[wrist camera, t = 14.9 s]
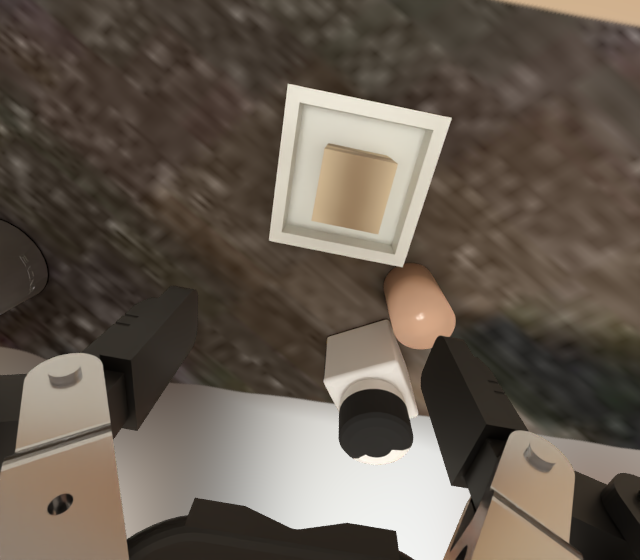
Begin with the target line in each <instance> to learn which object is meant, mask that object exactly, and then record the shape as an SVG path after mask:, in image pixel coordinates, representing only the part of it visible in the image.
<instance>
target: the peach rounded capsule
mask: <svg viewBox="0 0 640 560" xmlns="http://www.w3.org/2000/svg"><path fill="white" fill-rule="evenodd" d="M383 289H384V294H385V298H386V302H387V307H388V311H389V315H390V319H391V324H392V328H393V332H394V335H395V336H396V338H397V339H398V340H399V341H400V342H401V343H402V344H403V345H405V346H407V347H410V348H414V349H429V348H432V347H433V344H434V342H435V340H436V338H437V337H438V336H446V337H450V335H451V334H452V332H453V330H454V328H455V321H456V320H455V315H454V312H453V310H452V309H451V307H450V305H449V303H448V302H447V300H446V298H445V296H444V295H443V293H442V291H441V289H440V288H439V286H438V284H437V282H436V281H435V279H434V277H433V275H432V274H431V272H430V271H429V270H428V269H427V268H426V267H424V266H422V265H420V264H417V263H405V264H404V265H403V267H399V266H397V267H395V268H393V269H392V270H391V271H390V272H389V273H388V275H387V276H386V278H385V280H384V285H383Z"/></svg>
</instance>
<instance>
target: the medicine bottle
mask: <svg viewBox="0 0 640 560" xmlns="http://www.w3.org/2000/svg"><path fill="white" fill-rule="evenodd" d="M323 381H324V384H325V386H326V388H327V390H328V392H329V394H330V396H331V398H332V400H333V402H334V403H335V405H336V407H337V409H338V411H339V442H340V445H341V447H342V448H343V450H344V451H345V452H346V453H347V454H348V455H349V456H350V457H352V458H353V459H355V460H357V461H359V462H362V463H365V464H372V465H381V464H387V463H392V462H394V461H397V460H398V459H400V458H401V457H403V456H404V455H405V454H406V453H407V452H408V450H409V449H410V447H411V446H412V443H413V433H412V428H411V423H410V418H414V417H417V416H418V410H417V406H416V402H415V398H414V394H413V390H412V386H411V382H410V378H409V374H408V370H407V367H406V364H405V361H404V359H403V356H402V353H401V351H400V348H399V345H398V343H397V340H396V338H395V335H394V332H393V330H392V327H391V324H390V322H389V321H388V320H383V321H379V322H376V323H373V324H369V325H366V326H363V327H359V328H356V329H353V330H349V331H346V332H343V333H339V334H336V335H333V336H329V337H328V338H327V343H326V355H325V368H324V380H323Z"/></svg>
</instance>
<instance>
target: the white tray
mask: <svg viewBox="0 0 640 560" xmlns="http://www.w3.org/2000/svg"><path fill="white" fill-rule="evenodd" d="M451 119H452V118H449V117H445V116H440V115H435V114H430V113H425V112H421V111H416V110H411V109H406V108H402V107H397V106H392V105H387V104H382V103H378V102H373V101H368V100H363V99H358V98H354V97H349V96H344V95H339V94H335V93H330V92H325V91H320V90H315V89H311V88H306V87H301V86H296V85H292V84H288V87H287V96H286V104H285V112H284V120H283V129H282V137H281V145H280V153H279V161H278V170H277V178H276V186H275V194H274V202H273V211H272V219H271V227H270V235H269V241H273V242H278V243H283V244H288V245H293V246H298V247H303V248H308V249H313V250H318V251H323V252H328V253H333V254H338V255H343V256H348V257H353V258H358V259H363V260H368V261H374V262H379V263H384V264H389V265H394V266H399V267H403V265H404V262H405V259H406V256H407V253H408V250H409V247H410V244H411V241H412V237H413V234H414V231H415V228H416V225H417V222H418V219H419V216H420V213H421V210H422V207H423V204H424V201H425V198H426V195H427V192H428V189H429V186H430V183H431V180H432V176H433V173H434V170H435V167H436V164H437V161H438V158H439V155H440V152H441V149H442V146H443V143H444V140H445V137H446V134H447V131H448V128H449V125H450V122H451ZM328 143H330V144H335V145H340V146H344V147H349V148H354V149H359V150H363V151H368V152H373V153H378V154H382V155H387V156H389V157H390V158H391V159H392V160H394V161H395V162H396V163H397V164H398V166H397V169H396V173H395V177H394V180H393V184H392V187H391V191H390V194H389V198H388V201H387V205H386V208H385V212H384V215H383V219H382V223H381V226H380V230H379V233H378V234H373V233H368V232H364V231H359V230H354V229H349V228H344V227H339V226H334V225H329V224H325V223H320V222H315V221H311V220H312V214H313V209H314V203H315V198H316V192H317V187H318V181H319V176H320V170H321V165H322V159H323V154H324V148H325V147H326V146H327V144H328Z"/></svg>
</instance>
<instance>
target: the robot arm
mask: <svg viewBox="0 0 640 560" xmlns="http://www.w3.org/2000/svg"><path fill="white" fill-rule="evenodd" d="M47 277H48V273H47V266H46V263H45V260H44V258H43V256H42V254H41V252H40V251H39V249H38V248H37V247H36V245H35V244H34V243H33V242H32V241H31V240H30V239H29V238H28V237H27V236H26V235H25V234H24V233H23V232H21V231H20V230H19V229H17V228H16V227H14V226H12V225H11V224H9V223H7V222H4V221H2V220H0V315H1V314H3V313H5V312H6V311H8V310H10V309H12V308H13V307H15V306H17V305H19V304H20V303H22V302H24V301H26V300H28V299H29V298H31V297H33V296H35V295H37V294H38V293H40V292H41V291H42V290H43V289H44V287H45V285H46V283H47ZM197 322H198V293H197V291H196V290H194V289H189V288H183V287H178V286H171V287H169V288H168V289H167V290H166V291H165V292H164V293H163V294H162V295H161V296H160V297H159V298H153V297H151V298H149V299H147V300H145V301H142V302H140V303H138V304H136V305H135V306H133V307H132V308H131V309H130V310H129V311H128V312H127V313H126V314H125V316H122V317H121V318H120V319H119V320H118V321H116V324H113V325H112V326H111V327H110V328H109V329H107V330H106V331H105V332H104V333H103V334H102V335H101V336H99V337H98V338H97V339H96V340H95V341H94V342H93V343H92V344H90V345H89V346H88V347H87V348H86V349H85V350H84V351H82V352H81V353H71V354H65V355H60V356H57V357H54V358H51V359H49V360H46V361H44V362H42V363H41V364H39V365H37V366H36V367H35V368H33V369H32V370H31V371H30V372H29V373H28V374H19V375H18V374H17V375H0V560H414V559H412V558H411V557H409V556H408V555H406V554H404V553H403V552H400V551H399V550H398V542H397V535H396V531H393V530H387V529H381V528H374V527H369V526H363V525H357V524H350V523H343V524H336V525H330V526H321V527H314V528H307V529H298V530H297V529H292V528H289V527H287V526H285V525H283V524H281V523H279V522H277V521H275V520H273V519H271V518H269V517H266V516H264V515H262V514H260V513H258V512H256V511H254V510H252V509H250V508H248V507H246V506H241V505H235V504H229V503H223V502H217V501H211V500H205V499H198V498H195V499H194V502H193V504H192V507H191V510H190V512H189V514H188V515H187V516H180V517H176V518H172V519H168V520H165V521H162V522H160V523H157V524H154V525H152V526H150V527H148V528H146V529H144V530H142V531H140V532H138V533H136V534H135V535H133V536H131V537H130V538H128V539H127V537H126V530H125V523H124V515H123V509H122V501H121V493H120V486H119V479H118V472H117V464H116V457H115V451H114V442H113V439H114V438H115V436H116V435H117V433H118V432H119V431H120V429H121V428H125V429H130V430H136V431H137V430H138V429H139V428H140V426H141V424H142V423H143V422H144V420H145V418H146V417H147V415H148V414H149V412H150V411H151V409H152V408H153V406H154V405H155V403H156V402H157V400H158V399H159V397H160V396H161V394H162V393H163V391H164V390H165V388H166V387H167V385H168V384H169V382H170V381H171V379H172V378H173V376H174V375H175V373H176V371H177V370H178V368H179V367H180V365H181V364H182V362H183V361H184V359H185V358H186V356H187V355H188V353H189V352H190V350H191V349H192V347H193V345H194V342H195V339H196V335H197ZM421 390H422V393H423V396H424V400H425V403H426V406H427V409H428V412H429V416H430V419H431V422H432V425H433V428H434V432H435V435H436V438H437V441H438V444H439V447H440V451H441V454H442V457H443V461H444V464H445V467H446V470H447V473H448V477H449V480H450V483H451V486H457V487H463V488H468V489H469V491H470V494H471V497H470V499H469V500H468V502H467V504H466V506H465V508H464V511H463V513H462V515H461V518H460V520H459V523H458V525H457V528H456V530H455V532H454V535H453V537H452V539H451V542H450V544H449V547H448V549H447V552H446V554H445V556H444V559H443V560H640V477H637V476H635V475H631V474H627V473H620V474H617V475H616V476H615V477H614V478H613V479H612V480H611V482H609V484H608V485H606V484H604V483H602V482H599V481H597V480H595V479H593V478H590V477H588V476H586V475H583V474H581V473H579V472H576V471H574V470H573V467H572V466H571V464H570V462H569V461H568V459H567V458H566V457H565V456H564V454H563V453H562V452H561V451H560V450H559V449H558V448H556V447H555V446H554V445H553V444H551V443H550V442H549V441H547V440H545V439H544V438H542V437H540V436H538V435H536V434H534V433H531V432H529V431H528V429H527V428H526V426H525V425H524V423H523V421H522V420H521V418H520V417H519V415H518V413H517V412H516V410H515V408H514V407H513V405H512V404H511V402H510V400H509V399H508V397H507V396H506V395H504V393H505V392H504V391H503V389H502V387H501V386H500V385H499V384H498V381H497V379H496V378H495V376H494V375H493V373H492V371H491V370H490V369H489V368H488V367H487V366H486V365H485V364H484V363H483V362H482V361H481V360H480V359H479V358H477V357H474V356H473V354H472V353H471V351H470V349H469V348H468V346H467V344H466V342H465V341H464V340H462V339H457V338H452V337H446V336H438V337H437V338H436V340H435V342H434V344H433V347H432V349H431V352H430V354H429V357H428V359H427V361H426V364H425V366H424V369H423V371H422V375H421Z"/></svg>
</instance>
